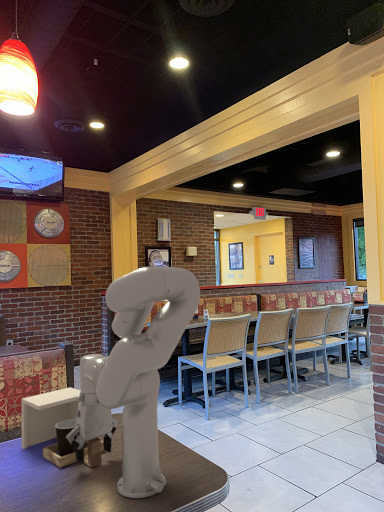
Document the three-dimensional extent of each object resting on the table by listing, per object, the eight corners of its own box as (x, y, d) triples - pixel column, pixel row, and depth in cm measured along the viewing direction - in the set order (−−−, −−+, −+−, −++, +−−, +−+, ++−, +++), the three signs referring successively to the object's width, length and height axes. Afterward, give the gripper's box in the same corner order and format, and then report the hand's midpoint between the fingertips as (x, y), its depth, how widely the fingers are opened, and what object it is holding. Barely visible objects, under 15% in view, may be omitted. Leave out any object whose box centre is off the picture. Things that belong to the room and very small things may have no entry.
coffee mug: (66, 465, 112) (65, 430, 113) (50, 458, 117) (49, 425, 118) (97, 450, 121) (96, 419, 122) (81, 445, 126) (80, 414, 127)
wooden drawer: (118, 457, 115) (118, 433, 115) (73, 476, 104) (72, 449, 104) (86, 441, 128) (85, 419, 129) (42, 456, 118) (42, 432, 118)
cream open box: (90, 441, 129) (89, 393, 131) (39, 459, 116) (38, 406, 118) (71, 431, 139) (70, 387, 140) (21, 447, 126) (21, 398, 127)
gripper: (72, 406, 103) (73, 471, 102) (124, 392, 116) (125, 450, 114) (60, 401, 108) (60, 463, 107) (111, 388, 121) (112, 443, 119)
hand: (94, 456), depth 110 cm, fingers open, 8 cm apart
